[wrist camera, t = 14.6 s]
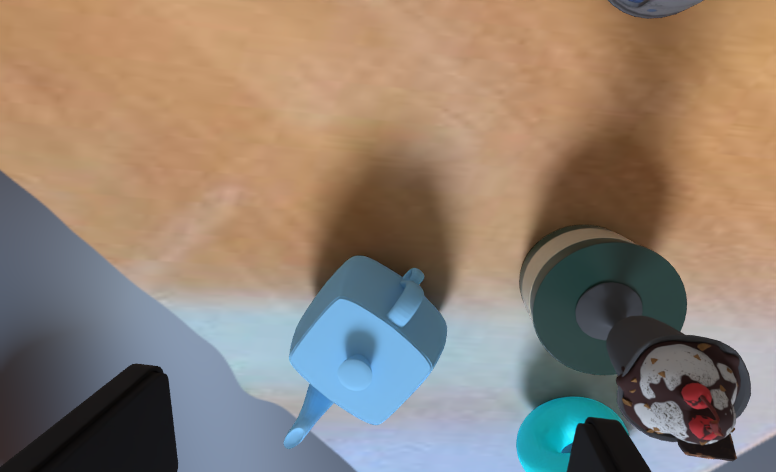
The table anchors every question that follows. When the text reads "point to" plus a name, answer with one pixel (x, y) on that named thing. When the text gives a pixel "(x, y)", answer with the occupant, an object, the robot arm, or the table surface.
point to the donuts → (555, 431)
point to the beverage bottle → (653, 7)
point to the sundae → (668, 374)
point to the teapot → (365, 344)
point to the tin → (580, 273)
